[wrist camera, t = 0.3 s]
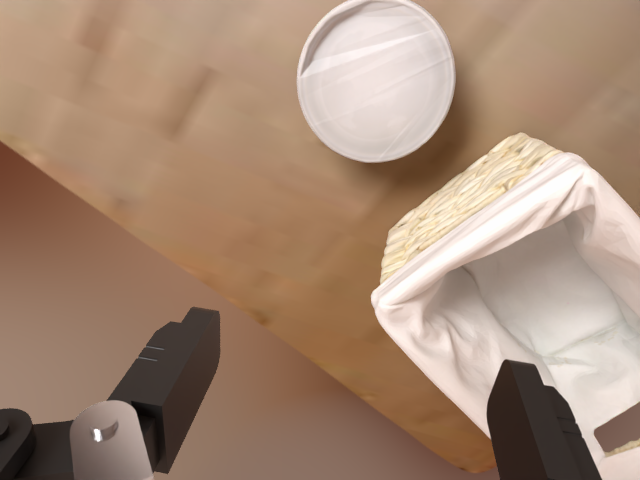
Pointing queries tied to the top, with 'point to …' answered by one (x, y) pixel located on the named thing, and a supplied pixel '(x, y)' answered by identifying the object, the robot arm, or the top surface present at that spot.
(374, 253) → the top surface
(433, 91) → the ramekin
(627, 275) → the storage basket
